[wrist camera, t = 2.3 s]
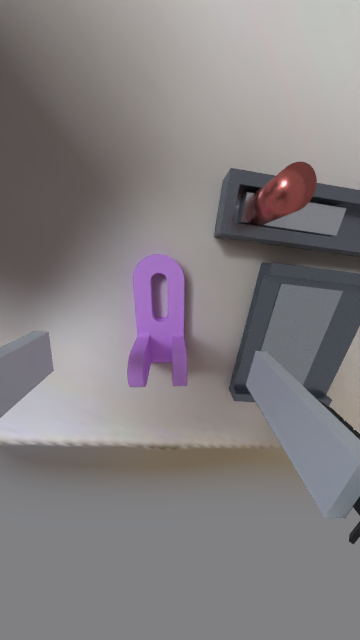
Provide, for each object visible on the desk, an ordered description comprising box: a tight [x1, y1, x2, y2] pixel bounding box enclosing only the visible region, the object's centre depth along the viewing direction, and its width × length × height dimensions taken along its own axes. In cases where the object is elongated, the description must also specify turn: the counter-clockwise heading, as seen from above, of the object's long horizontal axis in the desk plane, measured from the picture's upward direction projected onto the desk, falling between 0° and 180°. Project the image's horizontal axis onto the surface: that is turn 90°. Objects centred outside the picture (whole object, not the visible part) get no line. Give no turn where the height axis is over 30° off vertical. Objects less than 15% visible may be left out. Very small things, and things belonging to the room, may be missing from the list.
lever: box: [238, 162, 347, 237], centre depth 14 cm, size 10×3×6 cm, turn 83°
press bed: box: [229, 263, 360, 406], centre depth 22 cm, size 14×18×2 cm
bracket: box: [127, 254, 187, 387], centre depth 18 cm, size 13×6×7 cm, turn 0°
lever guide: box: [214, 168, 360, 257], centre depth 17 cm, size 20×5×2 cm, turn 83°
